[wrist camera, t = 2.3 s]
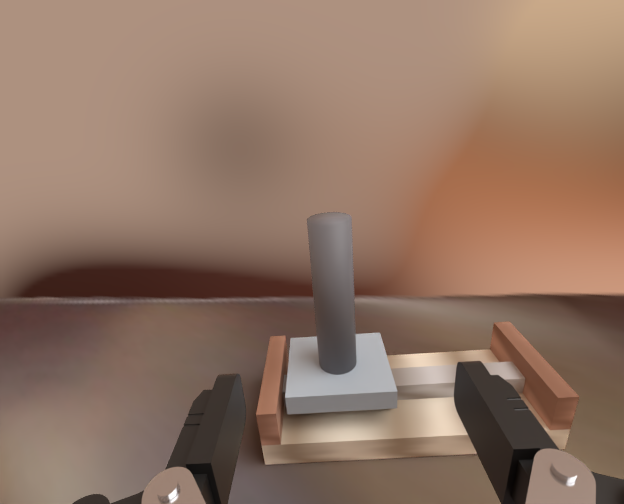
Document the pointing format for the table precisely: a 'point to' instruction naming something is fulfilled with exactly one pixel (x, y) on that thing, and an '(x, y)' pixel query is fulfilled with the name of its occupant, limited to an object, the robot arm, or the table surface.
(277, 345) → the rail bed
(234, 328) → the table surface
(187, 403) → the table surface
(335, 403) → the carriage
